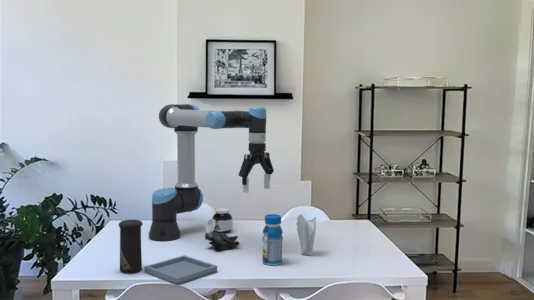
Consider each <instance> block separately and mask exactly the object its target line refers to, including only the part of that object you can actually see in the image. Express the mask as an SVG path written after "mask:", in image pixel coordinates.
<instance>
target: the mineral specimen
mask: <svg viewBox="0 0 534 300" xmlns="http://www.w3.org/2000/svg"><path fill="white" fill-rule="evenodd" d="M204 238H205V240H206V241H209V242H208V245H211V246H213V248H214V250H217V251H218V250H219V251H220V250H232V249H234V248H235V247H236V246H239V245H240V244H241V242H240V241H238V240H237V239H238V238H239V237H238V235H235V236H229V235H227V233H223V232H221V233H216V232H212V233H207V232H206V233H205V234H204Z"/></svg>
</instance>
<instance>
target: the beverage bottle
mask: <svg viewBox="0 0 534 300" xmlns="http://www.w3.org/2000/svg"><path fill="white" fill-rule="evenodd" d="M264 224H265V226H264V227H263V230H262V234H263V235H262V263H263V264H264V265H268V266H279V265H281V264H282V263H283V240H284V239H283V238H284V237H283V229H282V227H281V224H282V216H281V215H280V214H274V213H272V214H271V213H270V214H265V215H264Z"/></svg>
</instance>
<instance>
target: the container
mask: <svg viewBox="0 0 534 300" xmlns="http://www.w3.org/2000/svg"><path fill="white" fill-rule="evenodd" d="M142 226H143V222H142V221H141V220H140V219H139V220H138V219H125V220H122V221H120V222H119V223H118V227H119V271H120V272H121V273H122V274H136V273H140V272H141V271H142V269H143V261H142V259H143V258H142Z"/></svg>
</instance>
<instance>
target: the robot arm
mask: <svg viewBox="0 0 534 300" xmlns="http://www.w3.org/2000/svg"><path fill="white" fill-rule="evenodd" d="M158 119H159V122H160V124H161V125H162V126H164V127H165V128H167V129H168V128H169V129H173V130H174V133H175V134H176V136H177V140H176V141H177V183H176V184H174V187H166V188H165V187H164V188H159V189H157V190H155V191H153V193H152V195H151V197H152V198H151V212H152V213H151V214H152V215H151V217H152V218H151V220H152V221H151V225H150V227H149V232H148V240H152V241H156V242H158V241H159V242H167V241H173V240H177V239H180V237H181V230H180V228H179V224H178V221H177V217H178V216H177V215H178V214H183V213H184V214H185V213H191V212H194V211H197V210H198V209H200V208H201V206H202V204H203V202H204V201H203V200H204V193H203V192H202V190H201V188H199V184H198V183H196V163H195V162H196V157H195V156H196V155H195V154H196V146H195V145H196V144H195V143H196V141H195V139H196V137H195V136H196V134H197V133H198V131H199V130H198V129H199V128H209V129H212V130H213V129H214V130H219V129H248V152H249V154H247V153H246V154H243V155H244V157H243V161H242V164H241V165H240V168H239V172H238V177H240V178H241V181H242V182H241V183H242V192H243V193H247V194H248V193H249V190H250V189H249V187H250V185H249V183H250V181H249V179H250V177H249V174H250V173H251V171H252V170H253V168H254V166H256V165H258V164H260V166H261V167H262V170H263V172H264V173H263V189H266V190H269V189H270V186H271V185H270V182H271V175H273V173H274V172H275V170H274V167H273V164H272V160H271V158H270V152H266V149H267V146H266V145H267V144H266V142H267V141H266V139H267V138H266V137H267V135H266V134H267V109H266V107H264V106H263V107H262V106H250V107H249V109H248V110H202V109H199V107H198V106H197V105H194V104H188V103H187V104H186V103H183V104H178V103H177V104H173V103H172V104H171V103H170V104H167V105H165V106H163V107H162V108H161V109H160V110H159V113H158Z"/></svg>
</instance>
